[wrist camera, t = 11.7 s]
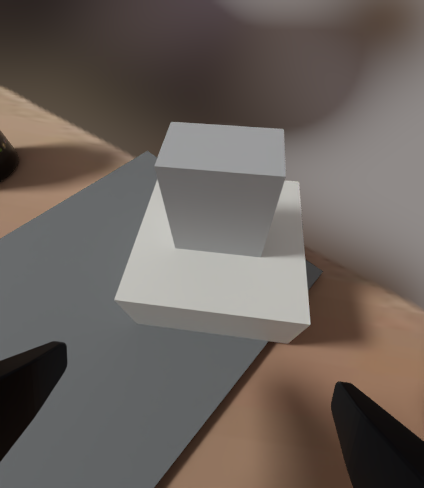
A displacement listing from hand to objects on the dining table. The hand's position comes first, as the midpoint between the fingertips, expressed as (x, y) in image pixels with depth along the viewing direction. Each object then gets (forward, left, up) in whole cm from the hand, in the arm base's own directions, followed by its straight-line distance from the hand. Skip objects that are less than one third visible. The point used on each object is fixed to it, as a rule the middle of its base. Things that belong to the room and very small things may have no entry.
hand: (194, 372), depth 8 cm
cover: (+5, -7, -8) cm, 11 cm away
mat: (+9, 0, -8) cm, 13 cm away
